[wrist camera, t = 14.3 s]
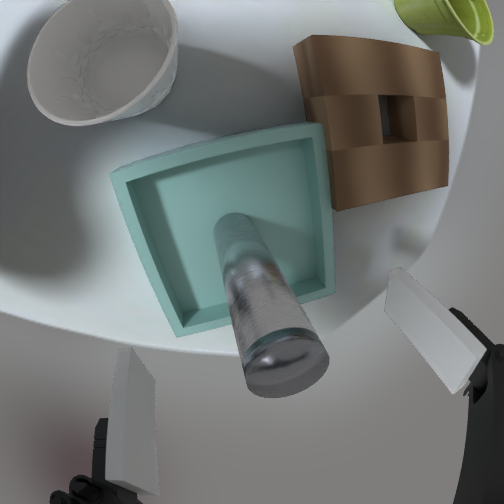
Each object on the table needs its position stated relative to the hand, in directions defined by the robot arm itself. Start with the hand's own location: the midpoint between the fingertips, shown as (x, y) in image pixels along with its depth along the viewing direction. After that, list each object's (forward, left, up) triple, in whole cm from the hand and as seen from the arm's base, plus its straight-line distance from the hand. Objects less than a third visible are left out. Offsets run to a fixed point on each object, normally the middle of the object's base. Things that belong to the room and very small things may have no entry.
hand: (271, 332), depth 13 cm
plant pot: (+24, +21, -14) cm, 35 cm away
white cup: (-5, +15, -14) cm, 21 cm away
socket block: (+15, +8, -13) cm, 22 cm away
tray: (0, 0, -13) cm, 13 cm away
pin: (0, 0, -13) cm, 13 cm away
